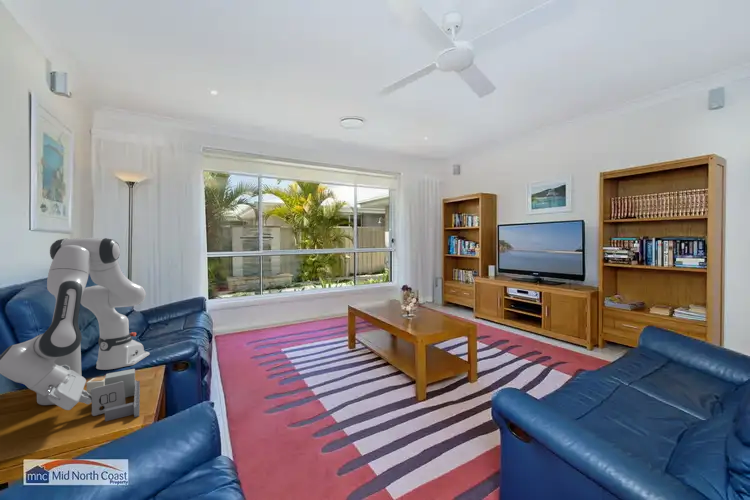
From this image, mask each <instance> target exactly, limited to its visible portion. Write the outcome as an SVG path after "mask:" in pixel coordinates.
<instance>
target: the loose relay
mask: <svg viewBox="0 0 750 500" xmlns="http://www.w3.org/2000/svg"><path fill="white" fill-rule="evenodd" d="M105 377H106V376H104V377H93V378H91V379H89V380H88V381H86V383H85V386H86V391H87V392H88V393H89V395H91V390H92V389H93V388H96V387H100V386H105Z"/></svg>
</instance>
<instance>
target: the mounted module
mask: <svg viewBox="0 0 750 500" xmlns="http://www.w3.org/2000/svg"><path fill="white" fill-rule="evenodd" d="M104 377H105V385H109V384H113V383H117V382H121V381H123V382H124V391H125V398H128V397H133V396H134V393H135V381H136V369H135V368H132V369H125V370H121V371H120V370H119V371H115V372H109V373H106V374H105V376H104Z"/></svg>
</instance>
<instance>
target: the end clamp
mask: <svg viewBox="0 0 750 500" xmlns="http://www.w3.org/2000/svg"><path fill="white" fill-rule="evenodd" d="M132 415H133V416H134V401H133V402H129V403H125V404H124V405H120V406H115V407H111V408H107V409H105V413H104V422H109V421H113V420H117V419H120V418H124V417H128V416H132Z"/></svg>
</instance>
